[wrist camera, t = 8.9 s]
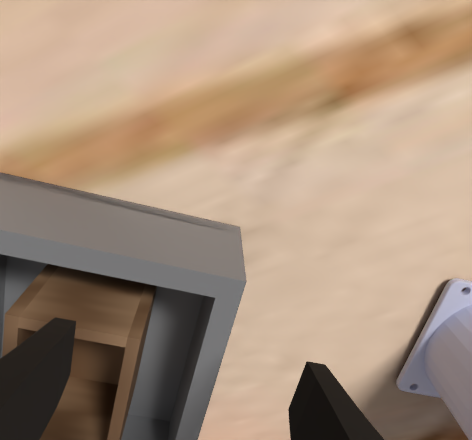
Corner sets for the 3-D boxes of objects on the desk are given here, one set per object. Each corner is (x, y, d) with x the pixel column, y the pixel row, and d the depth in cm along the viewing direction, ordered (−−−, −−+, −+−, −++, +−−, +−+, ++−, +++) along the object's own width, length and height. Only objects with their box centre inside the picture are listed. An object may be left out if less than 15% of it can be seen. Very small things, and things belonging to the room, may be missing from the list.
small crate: (160, 269, 20) (140, 339, 15) (134, 387, 23) (110, 480, 18) (61, 248, 20) (4, 314, 15) (46, 372, 22) (-5, 463, 17)
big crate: (240, 227, 21) (246, 281, 16) (184, 421, 26) (175, 511, 20) (-1, 172, 19) (-81, 212, 14) (-11, 390, 24) (-73, 479, 19)
